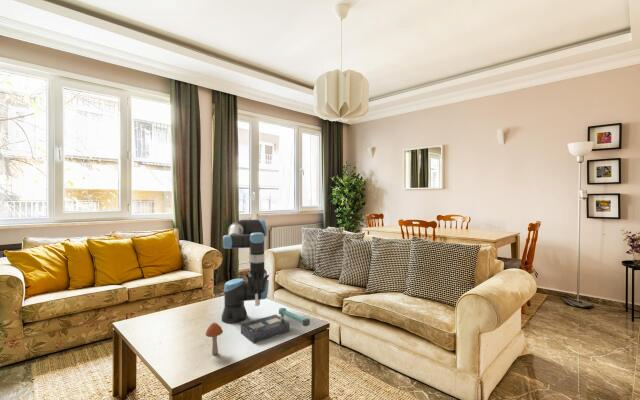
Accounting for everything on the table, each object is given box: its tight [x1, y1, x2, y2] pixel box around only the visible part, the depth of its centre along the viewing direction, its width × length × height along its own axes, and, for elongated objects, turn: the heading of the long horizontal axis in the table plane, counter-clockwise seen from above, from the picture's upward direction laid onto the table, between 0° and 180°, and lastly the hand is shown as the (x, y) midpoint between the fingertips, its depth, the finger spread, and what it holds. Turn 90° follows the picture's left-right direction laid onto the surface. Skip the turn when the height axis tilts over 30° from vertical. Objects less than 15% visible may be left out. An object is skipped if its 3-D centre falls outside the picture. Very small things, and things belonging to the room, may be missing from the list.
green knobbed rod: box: [278, 307, 311, 327], centre depth 178 cm, size 24×4×3 cm, turn 43°
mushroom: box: [205, 322, 224, 355], centre depth 155 cm, size 8×8×15 cm
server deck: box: [240, 314, 291, 344], centre depth 179 cm, size 15×23×8 cm, turn 128°
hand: (257, 305), depth 175 cm, fingers closed
